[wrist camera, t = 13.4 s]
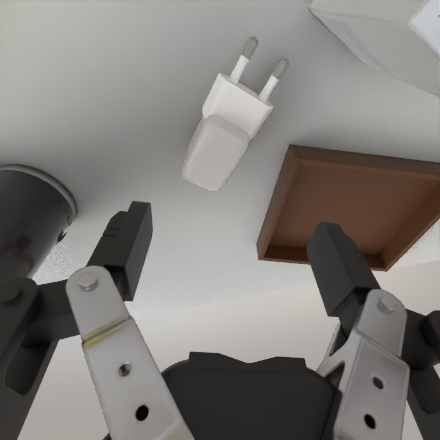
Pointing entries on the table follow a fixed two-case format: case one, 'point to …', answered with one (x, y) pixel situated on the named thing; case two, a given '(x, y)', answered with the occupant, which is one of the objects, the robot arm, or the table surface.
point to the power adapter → (228, 124)
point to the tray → (350, 204)
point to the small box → (389, 36)
